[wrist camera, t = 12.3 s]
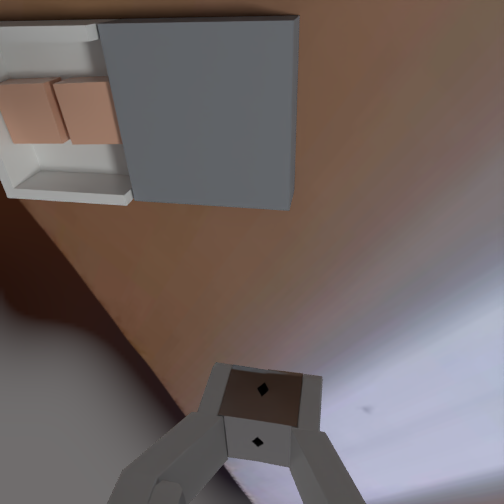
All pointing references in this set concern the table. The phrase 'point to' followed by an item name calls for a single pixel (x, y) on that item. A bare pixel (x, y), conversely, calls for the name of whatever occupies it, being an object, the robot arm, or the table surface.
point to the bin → (67, 155)
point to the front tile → (88, 110)
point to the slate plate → (206, 107)
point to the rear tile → (32, 111)
